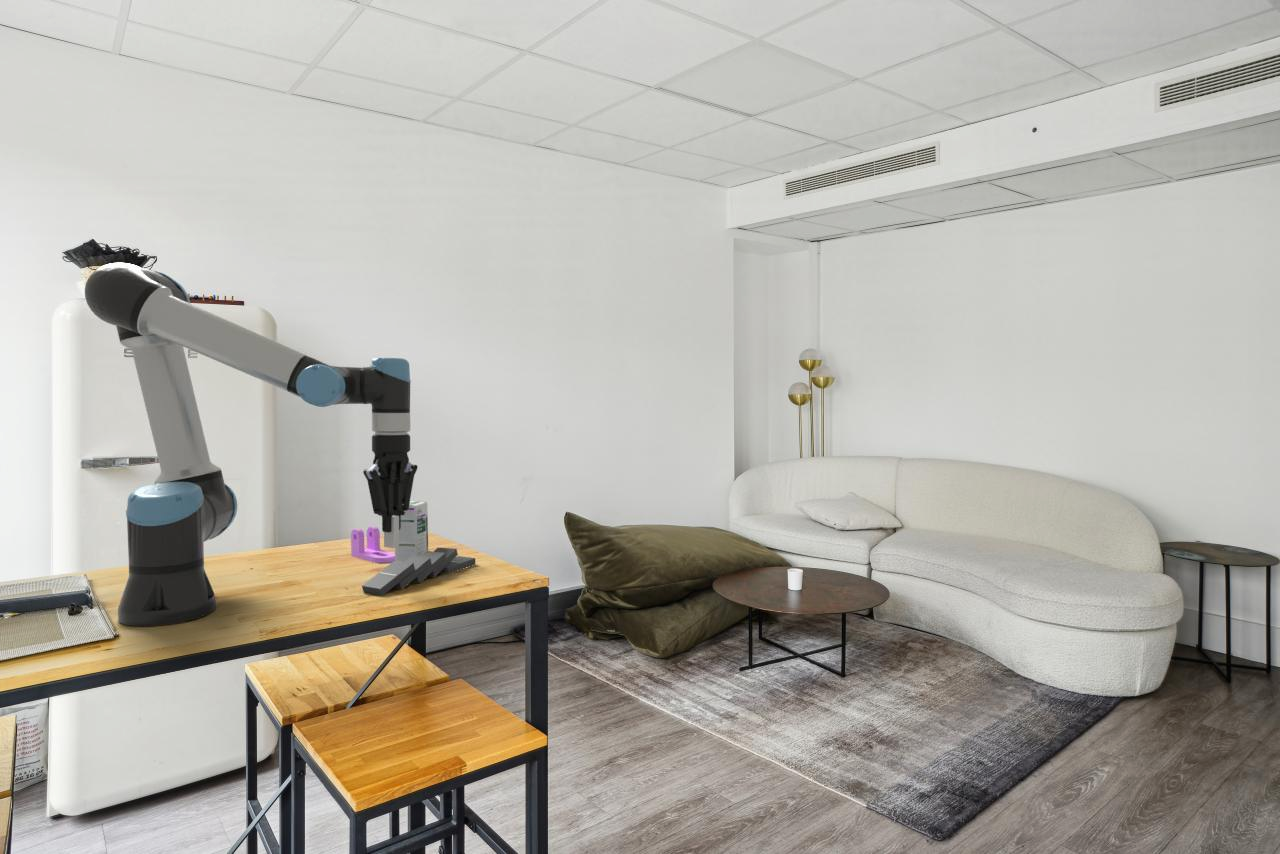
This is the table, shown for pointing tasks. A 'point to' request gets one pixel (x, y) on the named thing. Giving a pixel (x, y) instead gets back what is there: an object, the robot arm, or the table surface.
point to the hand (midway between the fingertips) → (391, 546)
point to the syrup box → (413, 532)
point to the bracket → (369, 546)
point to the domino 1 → (388, 577)
